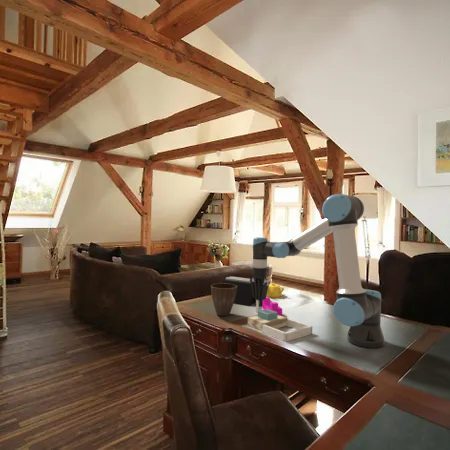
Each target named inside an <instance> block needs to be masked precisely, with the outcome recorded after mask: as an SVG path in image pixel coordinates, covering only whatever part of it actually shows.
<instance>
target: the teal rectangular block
mask: <svg viewBox="0 0 450 450" xmlns="http://www.w3.org/2000/svg"><path fill="white" fill-rule="evenodd" d="M257 315H258V317H259V318H262V319H264V320H267V321H268V320H272V319H277V316H278V312H275V311H272V310H269V309H266V310H263V309H262V310H261V311H258V313H257Z"/></svg>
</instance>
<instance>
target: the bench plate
mask: <svg viewBox="0 0 450 450" xmlns="http://www.w3.org/2000/svg"><path fill="white" fill-rule="evenodd" d="M287 319H288V317H285V316H283V315H282V316H279V315H278V316H277V319H272V320H268V321H267V320H264V319H262V318H259V317H258V314H256V315H253V316H248V317H247V326H249V327H251V328H254V329H256V330H259V331H261V332H262V328H263V325H267V326H270V327H272V328H275V329H281V328H284V327H288V326H287Z"/></svg>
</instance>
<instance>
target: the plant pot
mask: <svg viewBox="0 0 450 450" xmlns="http://www.w3.org/2000/svg"><path fill="white" fill-rule="evenodd" d="M210 291H211V298H212V299H211V300H212V302H213V303H212V304H213V306H214V310H215V313H216V314H217V316H221V317H223V316H229V315H230V314H231V311H232V309H233V306H234V304H233V303H234V300H235V296H236V291H237V286H236V285H234V284H226V283H223V282H221V283H220V282H219V283H213V284H211V285H210Z"/></svg>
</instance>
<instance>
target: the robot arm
mask: <svg viewBox="0 0 450 450" xmlns="http://www.w3.org/2000/svg"><path fill="white" fill-rule="evenodd" d="M321 211H322V215H323V217H324V218H323V219H321V220H319V221H318V222H316V223H314V224H313V225H312V226H310V227H309V228H307V229H306V230H304V231H302V232H301V233H299V234H297V235H296V236H295V237H293V238H291V239H290V240H287V241H280V242H279V241H274V242H273V241H269V240H268V238H267V237H254V238H253V240H252V273H251V274H252V275H253V276H252V278H249V279H250V282H251V288H252V295H253V298H255V299H256V303H255V313H257V314H258V311H261V310H263V300H265V299H266V296H267V291H268V286H269V284H271V283H270V281H268V280H267V274H268V268H267V267H268V257H269V258H277V259H285V258H287V257H294V256H298V255H300V253H301V252H302V251H303V250H304V249H306V248H308V247H310V246H311V245H313V244H315V243H317V242H318V241H320V240H321V239H323V238H325V237H326V236H328V235H330V234H332V235H333V243H334V253H335V260H336V269H337V277H338V278H337V279H338V286H339V287H338V289H337V290H336V292H335V293H336V294H335V295H336V301H335V302H334V304H333V308H332V309H333V310H332V311H333V314H334V316H335V319H337V321H338V322H339V323H341V324H342V325H343V326H347V327H349V329H348V332H347V335H346V336H347V341H348V342H349V343H351V344H352V345H353V344H354V345H355V346H358V347H363V348H369V349H370V348H371V349H372V348H373V349H376V348H377V349H378V348H383V347H384V346H385V341H386V340H385V336H384V333H383V331H382V330H383V329H382V328H381V327H382V326H381V322H382V321H381V317H382V314H381V312H382V294H381V292H380V291H378V290H372V289H368V288H367V289H366V288H363V287H362V280H361V274H360V273H361V271H360V263H359V257H358V248H357V247H358V246H357V240H356V230H355V229H356V228H357V226H359V225H358V224H359V223H358V221H359V220H360V219H361V217H362V216H363V214H364V212H365V205H364V203H363V202H362V200H361V199H360V198H358V197H356V196H354V195H348V194H344V193H335V194H332V195H330V196H328V197H327V198H326V199H325V200H324V201H323V204H322V208H321Z"/></svg>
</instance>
